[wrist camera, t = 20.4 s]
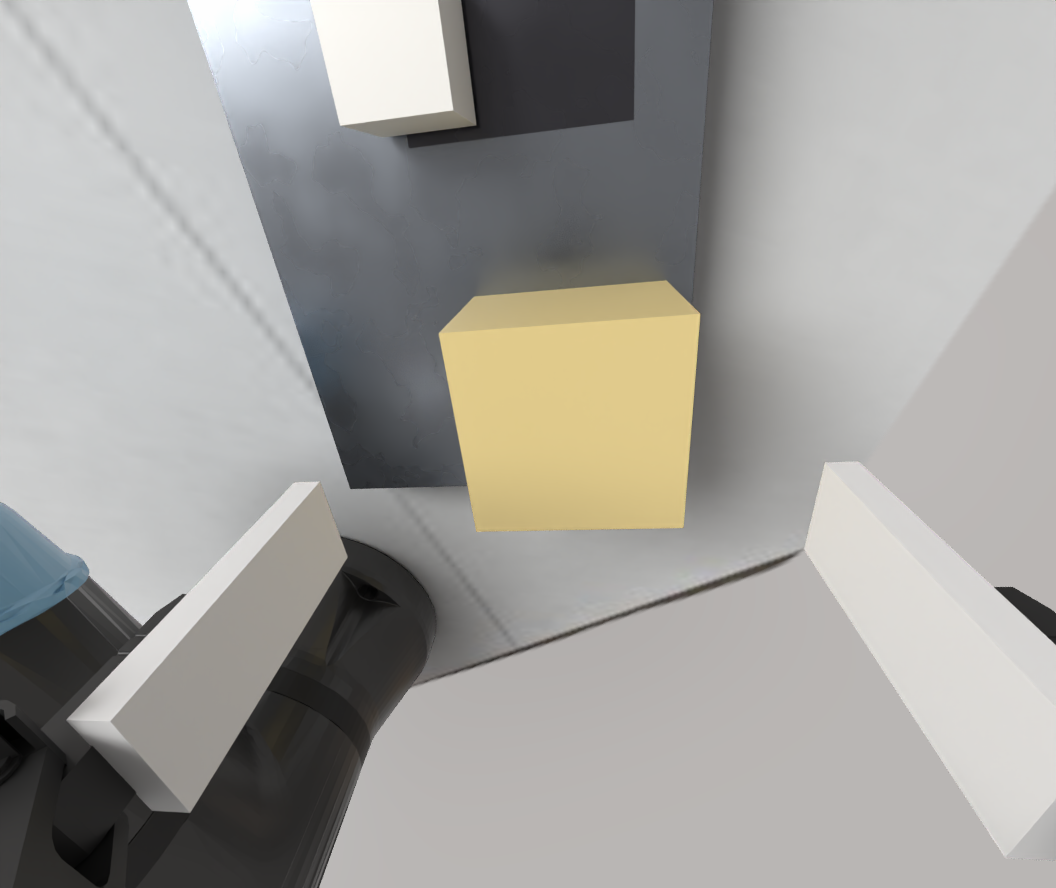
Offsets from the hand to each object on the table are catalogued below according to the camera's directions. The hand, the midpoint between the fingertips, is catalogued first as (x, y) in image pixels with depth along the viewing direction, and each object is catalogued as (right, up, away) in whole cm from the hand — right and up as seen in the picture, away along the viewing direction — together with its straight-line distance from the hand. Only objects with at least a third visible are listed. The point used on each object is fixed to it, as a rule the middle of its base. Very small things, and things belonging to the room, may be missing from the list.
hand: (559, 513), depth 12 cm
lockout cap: (+1, +5, +9) cm, 11 cm away
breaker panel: (-3, +11, +10) cm, 15 cm away
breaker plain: (-5, +15, +4) cm, 16 cm away
